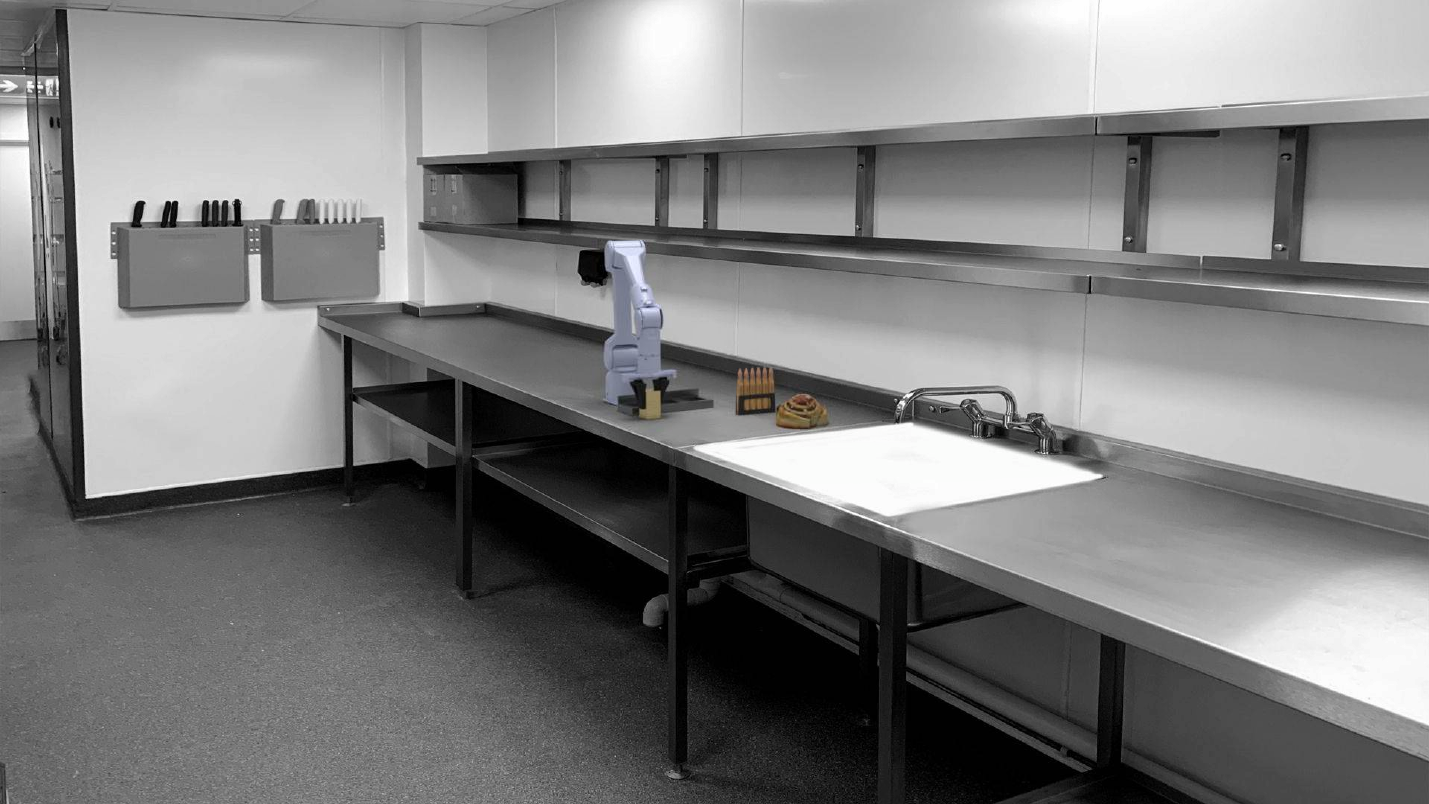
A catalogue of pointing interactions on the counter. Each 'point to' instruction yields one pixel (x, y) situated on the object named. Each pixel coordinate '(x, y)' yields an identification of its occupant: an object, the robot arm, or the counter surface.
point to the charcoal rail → (668, 402)
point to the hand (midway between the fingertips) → (649, 408)
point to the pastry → (801, 413)
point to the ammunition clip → (755, 393)
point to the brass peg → (651, 405)
